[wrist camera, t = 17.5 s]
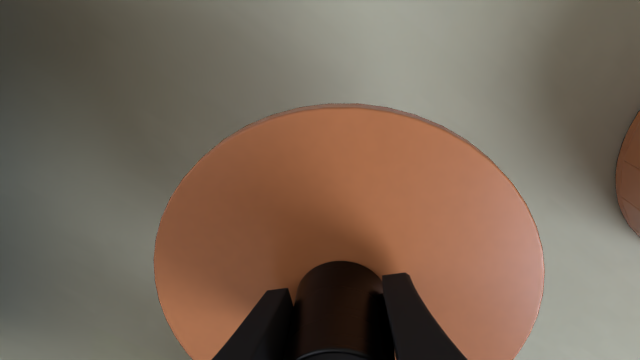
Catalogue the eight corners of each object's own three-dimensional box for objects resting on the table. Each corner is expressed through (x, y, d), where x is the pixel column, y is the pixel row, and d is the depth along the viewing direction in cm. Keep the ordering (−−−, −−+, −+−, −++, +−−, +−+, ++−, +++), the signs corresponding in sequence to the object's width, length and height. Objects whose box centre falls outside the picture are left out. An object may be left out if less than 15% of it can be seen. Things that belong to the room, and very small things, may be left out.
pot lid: (532, 385, 14) (604, 537, 10) (228, 411, 15) (185, 550, 11) (523, 56, 10) (640, 90, 6) (113, 139, 11) (-15, 210, 7)
